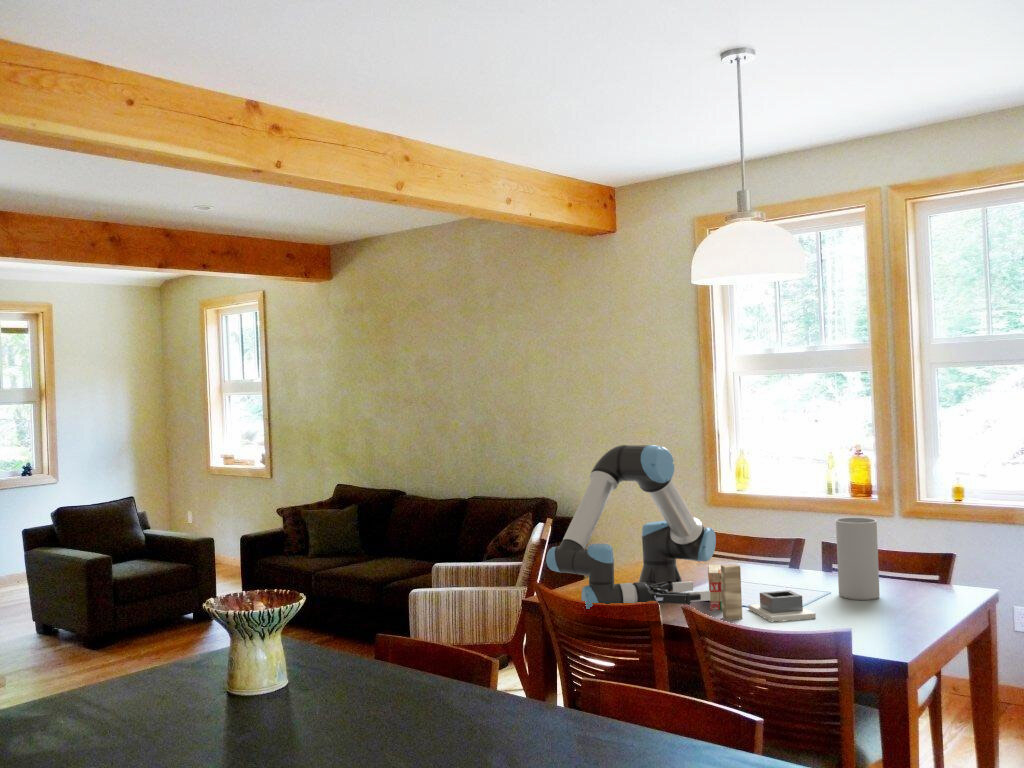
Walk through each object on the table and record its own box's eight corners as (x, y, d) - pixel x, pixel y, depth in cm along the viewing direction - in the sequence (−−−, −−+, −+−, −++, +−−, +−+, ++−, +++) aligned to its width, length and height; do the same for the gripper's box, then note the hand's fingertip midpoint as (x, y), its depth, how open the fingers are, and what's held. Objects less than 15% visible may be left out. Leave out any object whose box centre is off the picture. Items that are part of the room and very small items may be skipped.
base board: (748, 609, 278) (748, 604, 278) (790, 606, 281) (789, 601, 281) (772, 622, 263) (772, 617, 263) (815, 618, 265) (815, 613, 265)
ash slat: (722, 617, 270) (720, 565, 270) (738, 616, 271) (736, 564, 271) (726, 619, 267) (724, 567, 267) (742, 618, 268) (740, 565, 268)
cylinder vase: (838, 599, 287) (835, 522, 287) (838, 591, 298) (835, 517, 299) (880, 601, 282) (877, 523, 283) (878, 592, 294) (875, 517, 294)
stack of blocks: (708, 595, 300) (707, 559, 300) (727, 595, 299) (726, 559, 299) (710, 611, 279) (708, 571, 279) (730, 611, 278) (729, 572, 278)
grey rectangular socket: (760, 607, 275) (759, 592, 275) (790, 604, 277) (789, 590, 277) (772, 613, 267) (771, 598, 267) (802, 610, 269) (802, 595, 269)
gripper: (621, 599, 276) (686, 594, 280) (647, 618, 251) (717, 612, 255) (620, 574, 276) (685, 570, 280) (646, 591, 252) (716, 586, 255)
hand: (701, 590), depth 267 cm, fingers open, 13 cm apart
